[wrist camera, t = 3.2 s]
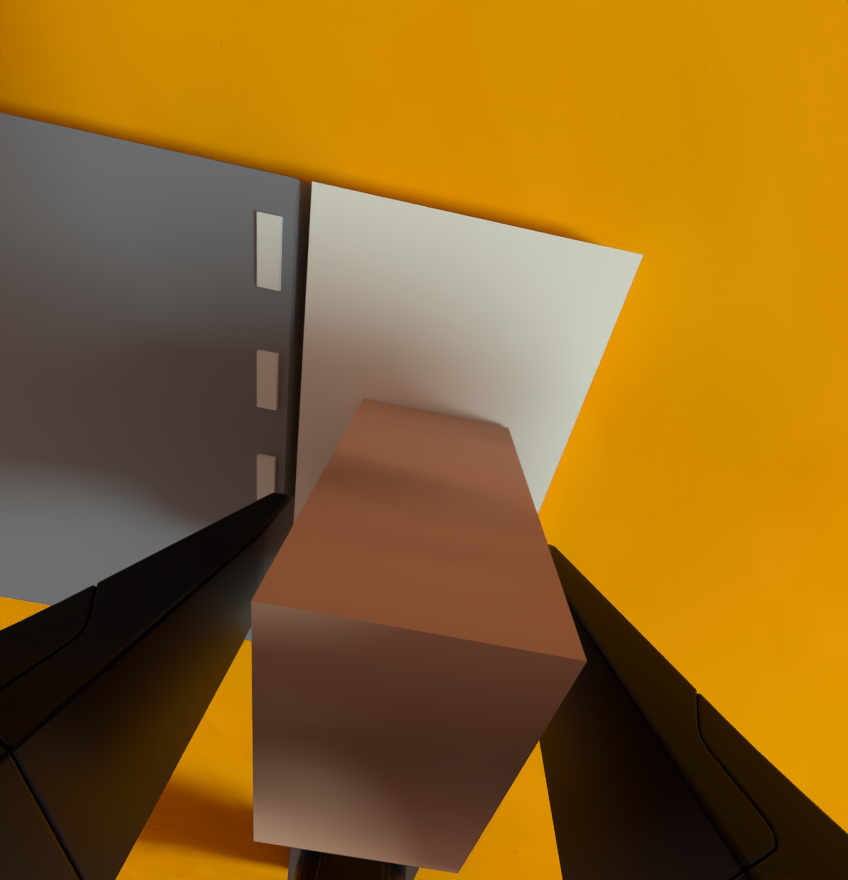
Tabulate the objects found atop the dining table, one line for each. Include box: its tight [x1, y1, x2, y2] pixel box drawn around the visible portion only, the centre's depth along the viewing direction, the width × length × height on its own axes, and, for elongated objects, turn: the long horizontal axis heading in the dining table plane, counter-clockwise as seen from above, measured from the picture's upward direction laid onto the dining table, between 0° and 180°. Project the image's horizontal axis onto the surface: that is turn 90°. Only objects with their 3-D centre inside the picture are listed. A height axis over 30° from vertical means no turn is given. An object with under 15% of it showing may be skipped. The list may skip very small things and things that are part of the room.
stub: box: [251, 181, 643, 873], centre depth 7 cm, size 12×6×6 cm, turn 169°
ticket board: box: [0, 113, 312, 641], centre depth 9 cm, size 12×12×1 cm
